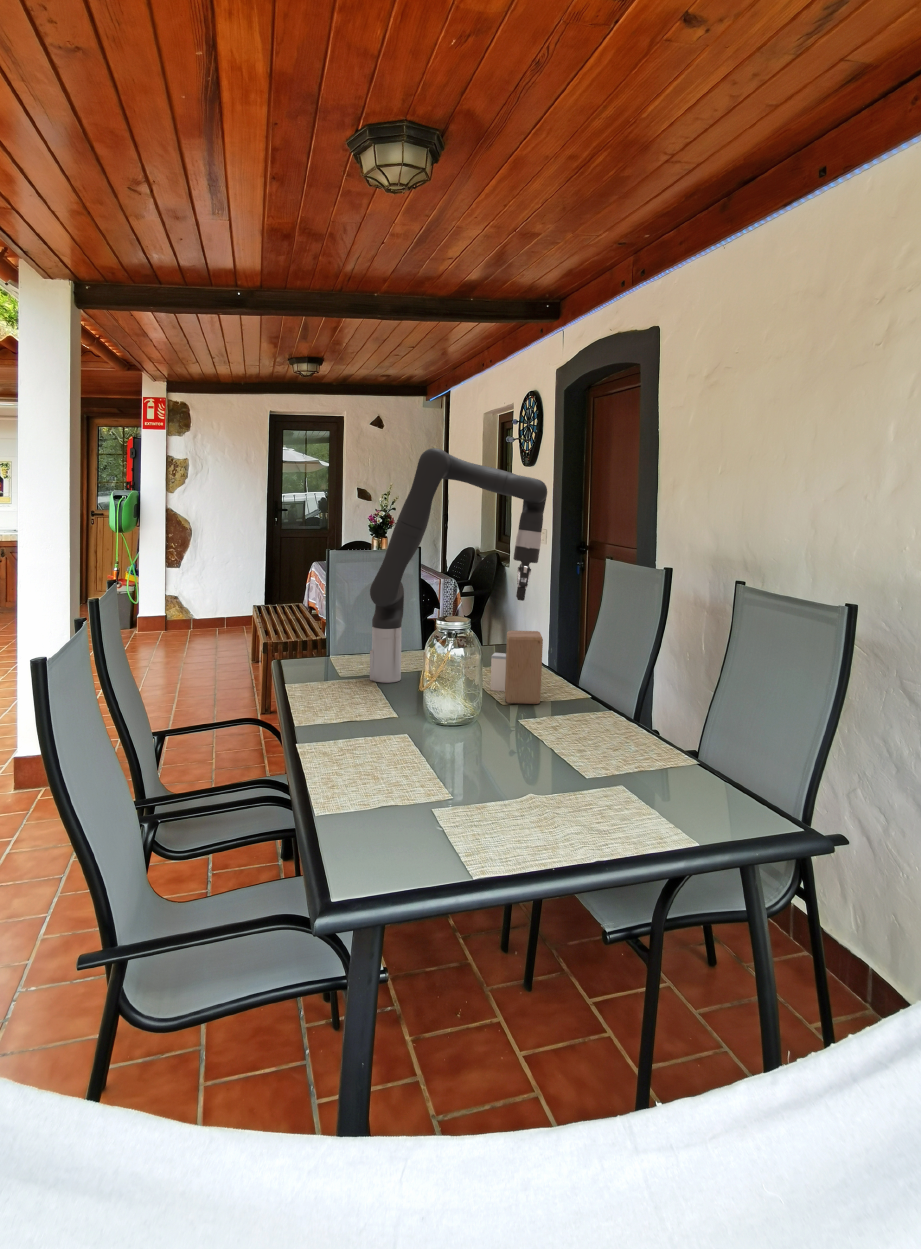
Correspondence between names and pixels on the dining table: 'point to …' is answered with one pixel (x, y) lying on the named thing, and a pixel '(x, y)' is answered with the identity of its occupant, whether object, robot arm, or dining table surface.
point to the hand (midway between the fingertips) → (520, 599)
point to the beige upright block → (498, 671)
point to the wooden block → (523, 667)
